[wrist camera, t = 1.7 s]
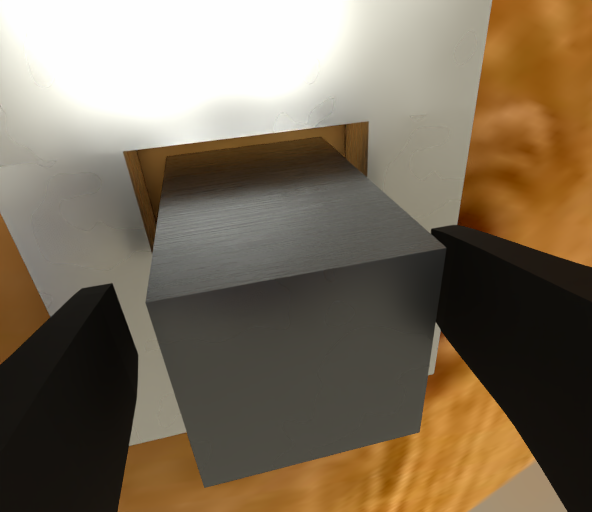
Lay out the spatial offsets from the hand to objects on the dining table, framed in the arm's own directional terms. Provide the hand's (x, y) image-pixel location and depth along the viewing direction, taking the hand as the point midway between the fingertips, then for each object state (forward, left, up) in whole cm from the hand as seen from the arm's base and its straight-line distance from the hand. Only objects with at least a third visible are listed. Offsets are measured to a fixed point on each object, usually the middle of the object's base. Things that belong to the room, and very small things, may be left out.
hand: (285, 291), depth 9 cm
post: (0, 0, -4) cm, 4 cm away
